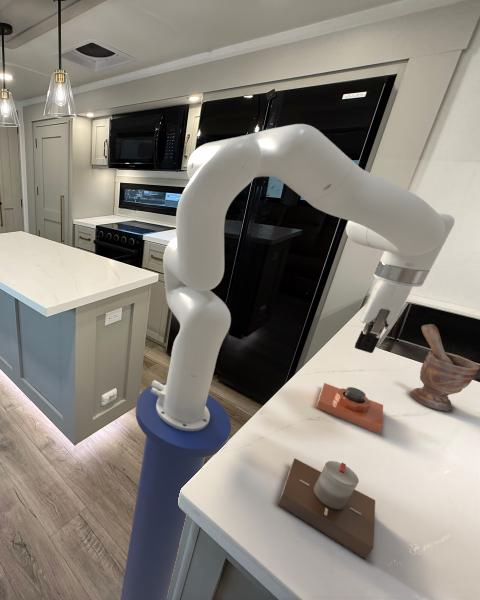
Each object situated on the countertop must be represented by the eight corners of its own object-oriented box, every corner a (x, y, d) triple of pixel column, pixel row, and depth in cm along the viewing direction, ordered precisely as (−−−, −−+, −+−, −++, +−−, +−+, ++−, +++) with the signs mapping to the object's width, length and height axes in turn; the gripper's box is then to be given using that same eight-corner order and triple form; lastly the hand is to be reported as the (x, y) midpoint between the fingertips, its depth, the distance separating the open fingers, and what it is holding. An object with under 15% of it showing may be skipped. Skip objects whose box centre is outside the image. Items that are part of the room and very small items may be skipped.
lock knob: (343, 515, 50) (358, 489, 48) (311, 496, 53) (323, 471, 51) (346, 496, 53) (360, 471, 51) (315, 479, 56) (328, 455, 54)
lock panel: (277, 504, 55) (282, 492, 54) (289, 468, 62) (294, 457, 60) (365, 559, 47) (374, 547, 46) (368, 511, 54) (375, 499, 53)
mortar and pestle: (391, 396, 83) (426, 331, 75) (390, 381, 89) (422, 319, 81) (455, 417, 76) (501, 348, 68) (448, 400, 82) (490, 334, 74)
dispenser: (315, 407, 78) (321, 395, 76) (321, 389, 85) (326, 377, 83) (378, 434, 71) (386, 420, 69) (379, 411, 77) (386, 399, 76)
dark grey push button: (343, 398, 76) (346, 391, 75) (344, 391, 79) (347, 385, 78) (362, 405, 74) (365, 398, 73) (362, 398, 76) (366, 391, 76)
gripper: (376, 263, 71) (345, 332, 78) (375, 276, 61) (339, 355, 68) (422, 271, 67) (385, 344, 74) (429, 287, 56) (384, 370, 64)
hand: (363, 349), depth 71 cm, fingers closed
